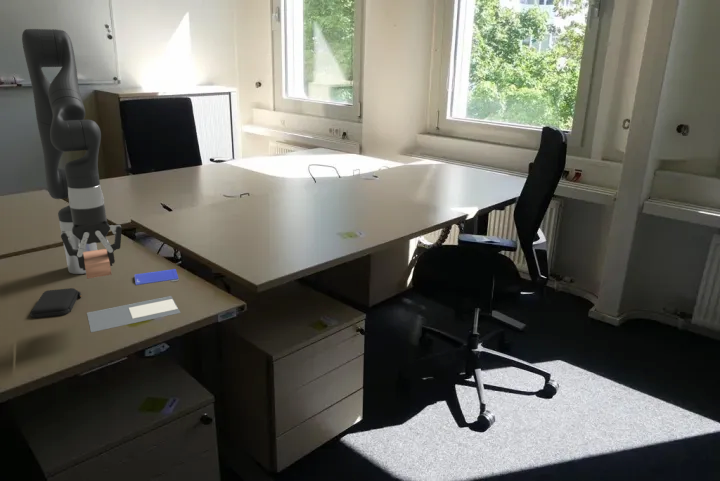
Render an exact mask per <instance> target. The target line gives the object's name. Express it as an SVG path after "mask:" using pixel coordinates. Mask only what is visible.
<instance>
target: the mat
mask: <svg viewBox="0 0 720 481" xmlns="http://www.w3.org/2000/svg"><path fill="white" fill-rule="evenodd" d="M181 313H182V312H181V311H180V309H179V307H178V305H177V303H176V301H175V299H174V298H173V296H172V295H168V296H164V297H160V298H159V297H158V298H153V299H148V300H143V301H138V302H134V303H130V304H124V305H119V306H114V307H110V308H105V309H104V308H103V309H100V310H99V309H98V310H94V311H88V312H86V315H87V319H88V324H89V329H90V333H96V332H100V331H105V330H109V329H113V328H118V327H122V326H127V325H130V324H131V325H132V324H135V323H136V324H137V323H140V322H145V321H150V320H155V319H159V318H163V317H167V316H169V317H170V316H173V315H178V314H181Z"/></svg>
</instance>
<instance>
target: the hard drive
mask: <svg viewBox="0 0 720 481" xmlns="http://www.w3.org/2000/svg"><path fill="white" fill-rule="evenodd" d="M179 279H180V278H179V275H178V272H177V269H176V268H172V269H166V270H159V271H158V270H157V271H152V272H151V271H150V272H144V273H143V272H142V273H135V274H134V281H135V282H134V283H135V286H139V285H147V284H154V283H160V282H167V281H170V283H174V282H177V281H179Z"/></svg>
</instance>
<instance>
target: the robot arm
mask: <svg viewBox="0 0 720 481" xmlns="http://www.w3.org/2000/svg"><path fill="white" fill-rule="evenodd" d="M21 41H22V42H21V43H22V48H23V53H24V57H25V62H26V66H27V69H28V74H29V79H30V84H31V87H32V94H33V100H34V107H35V108H34V109H35V115H36V117H35V118H36V123H37V128H38V134H39V137H40V142H41V147H42V153H43V161H44V172H45V181H46V188H47V191H48V194H49V196H50V197H51V198H52V199H54V200H63V199H64V200H65V199H68V205H66V206H65V207H62V208H60V210H58V212H57V217H58V221H59V227H60V228H59V229H60V238H61V240H62V242H63V249H64V254H65V259H66V264H67V270H68V272H69V273H70V274H73V275H83V274H86V269H85V263H84V254H83V252H87V251H94V250H98V245H97V244H100V243H101V244H102V245H103V247H104V249H106V250H107V254H108V257H109V261H110V267H112V266H113V264H115V261H116V260H115V255H114V253H115V252H114V251H116V250H120V249H121V246H122V244H121V242H122V232H123V231H122V229H123V228H122V226H121V224H120V223H118V224H116V225H113V224H111V225H110V224H109V222H108V219H107V213H106V205H105V198H104V194H103V190H102V187H101V181H100V175H99V168H98V166H99V165H98V164H99V163H98V162H99V152H100V151H99V150H100V146H101V140H102V132H101V128H100V126H99V125H98V123H97V122H96V121H94V120H92V119H85V118H86V108H85V105H84V101H83V99H82V95H81V92H80V89H79V88H80V86H79V79H78V70H77V63H76V58H75V52H74V47H73V42H72V40H71V38H70V35H69V34H68V32H67V31H65V30H63V29H55V28H54V29H51V28H50V29H49V28H47V29H46V28H27V29H24V30H23V32H22V34H21ZM42 68H60V70H59V72H58V73H57V74H56V76H55V77H54V78H53V79H52V80H51V82H50V81H49V80H48V79H47V77H46V75H45V73H44V71H43V69H42ZM76 151H79V152H80V151H85V153H84V155H83V156H82V157H80V158H77V159H73V160H70V161H68V162H66V164H65V165H64V167H60V168H59V165H60V161H61V159H62V156H63V155H64V153H65V152H76ZM110 231H112V234H113V235H114V241H113V242H114V243H112V244H111V243H110V242H109V240H108V238H107V235H108V234H109V232H110Z"/></svg>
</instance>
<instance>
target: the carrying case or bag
mask: <svg viewBox="0 0 720 481" xmlns="http://www.w3.org/2000/svg"><path fill="white" fill-rule="evenodd" d="M78 298H80V299H81V298H82V294H81V291H79V290H78V289H75V288H74V287H71V288H60V289H50V290H49V289H48V290H46V291H44V292H43V293H42V294H41V296H40V298H39V299H38V300H37V301H36V303H35V305H34V306H33V308H32V310H31V311H30V314H29V316H30V317H32V318H33V319H41V318H50V317H59V316H64V315H68V313H71V312H72V310H73V308H74V306H75V304H76V302H77V300H78Z"/></svg>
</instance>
